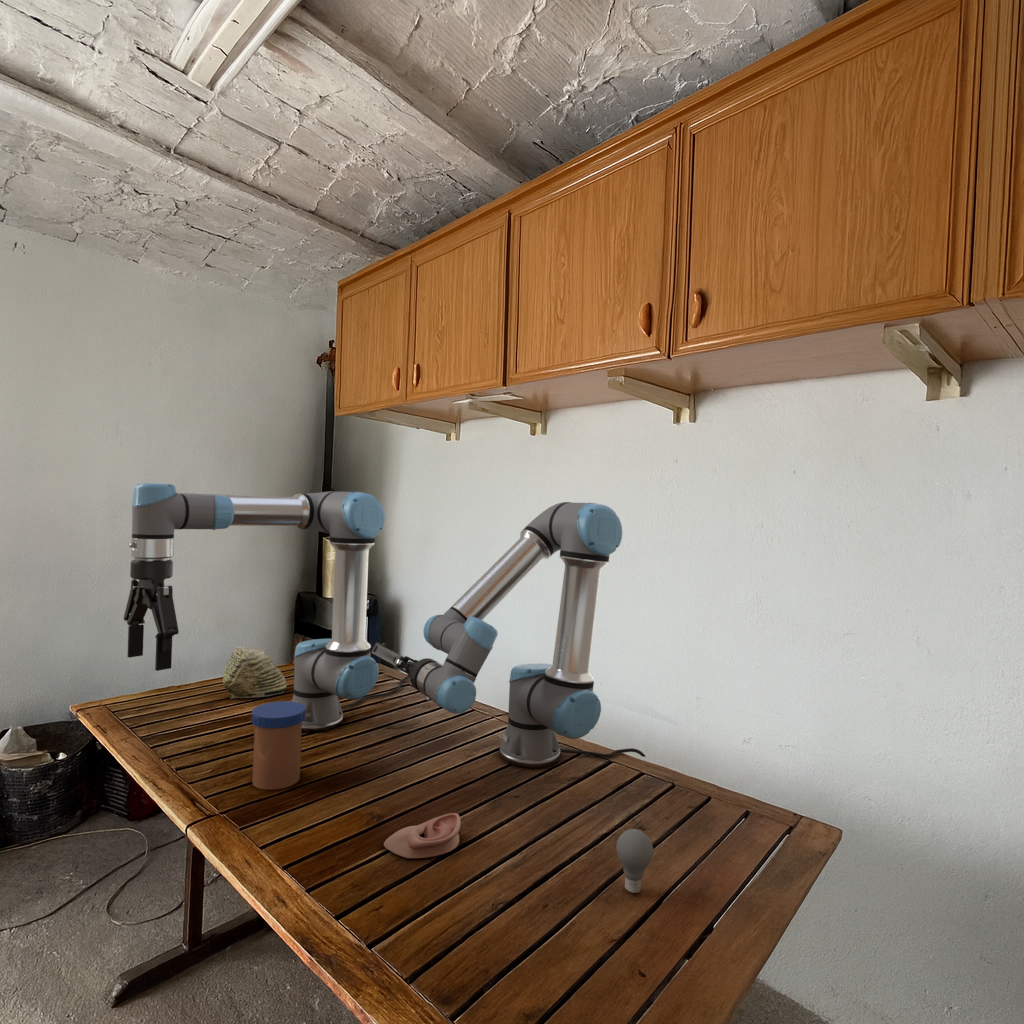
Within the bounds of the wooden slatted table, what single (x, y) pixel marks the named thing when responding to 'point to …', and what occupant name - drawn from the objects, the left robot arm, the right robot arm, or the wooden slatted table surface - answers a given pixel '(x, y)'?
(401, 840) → the anatomical model
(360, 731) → the wooden slatted table surface
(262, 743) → the jar
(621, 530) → the right robot arm
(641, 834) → the light bulb
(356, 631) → the left robot arm
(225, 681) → the fossil
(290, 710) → the lid
